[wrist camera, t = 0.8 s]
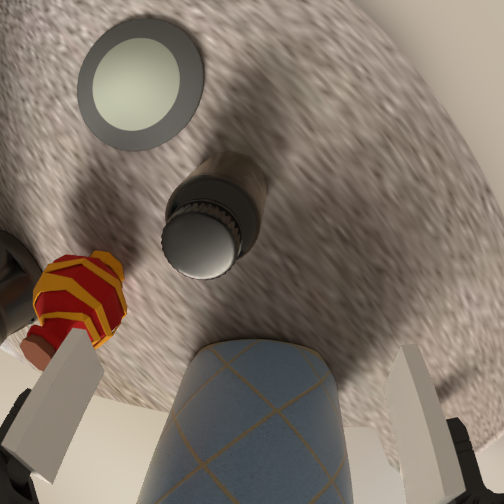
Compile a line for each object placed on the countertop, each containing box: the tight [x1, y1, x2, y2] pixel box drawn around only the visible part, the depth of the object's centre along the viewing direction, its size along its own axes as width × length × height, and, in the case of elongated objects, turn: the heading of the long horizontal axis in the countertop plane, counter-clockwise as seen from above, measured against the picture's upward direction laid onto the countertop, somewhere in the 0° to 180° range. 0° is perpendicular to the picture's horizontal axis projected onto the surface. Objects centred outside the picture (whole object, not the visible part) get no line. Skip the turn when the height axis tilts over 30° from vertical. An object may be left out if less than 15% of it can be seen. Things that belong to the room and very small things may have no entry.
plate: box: [77, 19, 204, 151], centre depth 25 cm, size 13×13×1 cm
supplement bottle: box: [161, 152, 267, 280], centre depth 24 cm, size 7×7×12 cm
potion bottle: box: [20, 251, 127, 371], centre depth 29 cm, size 10×10×15 cm
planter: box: [136, 339, 354, 504], centre depth 32 cm, size 23×23×24 cm
